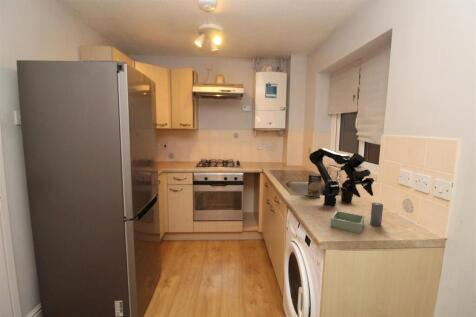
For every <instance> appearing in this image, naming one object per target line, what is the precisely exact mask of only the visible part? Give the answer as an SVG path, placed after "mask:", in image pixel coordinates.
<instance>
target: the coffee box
mask: <svg viewBox="0 0 476 317" xmlns="http://www.w3.org/2000/svg"><path fill="white" fill-rule="evenodd" d="M322 179H323V178H322V176H321V175H320V173H308V181H307V182H308V183H307V194H306V196H307V195H308V196H307V197H309V196H315V197H314V198H318V197H320V198H321V193H322V190H321V189H322V188H321V187H322Z"/></svg>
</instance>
